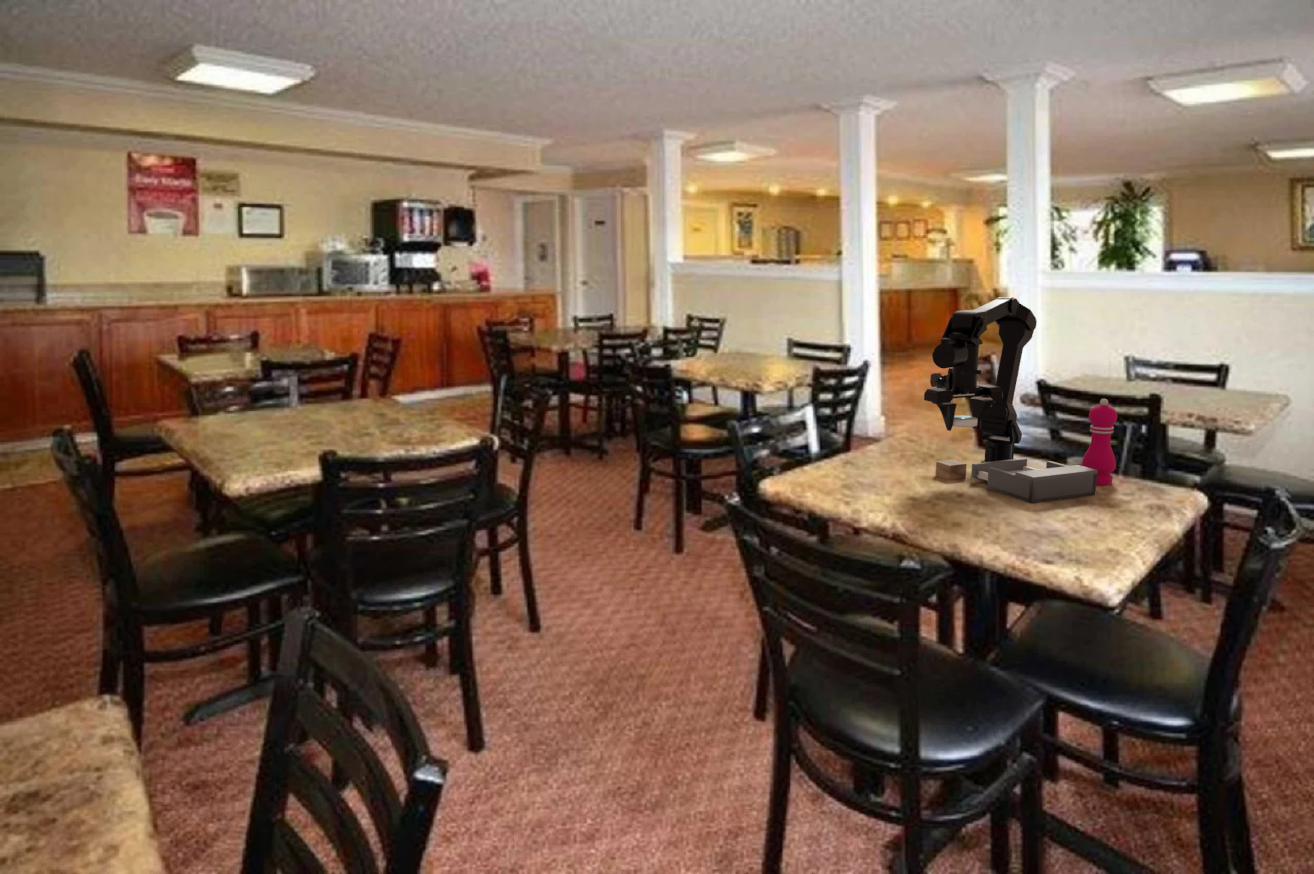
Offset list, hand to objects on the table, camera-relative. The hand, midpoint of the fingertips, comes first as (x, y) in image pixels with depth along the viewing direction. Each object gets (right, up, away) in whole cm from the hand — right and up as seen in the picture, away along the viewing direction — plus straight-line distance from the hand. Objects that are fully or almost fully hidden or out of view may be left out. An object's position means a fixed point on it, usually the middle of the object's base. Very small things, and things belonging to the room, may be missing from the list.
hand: (961, 429), depth 221 cm
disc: (0, +1, 0) cm, 1 cm away
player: (+14, -14, -12) cm, 23 cm away
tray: (+11, -12, -5) cm, 17 cm away
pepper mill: (+31, -13, -3) cm, 34 cm away
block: (-2, -12, +3) cm, 12 cm away
